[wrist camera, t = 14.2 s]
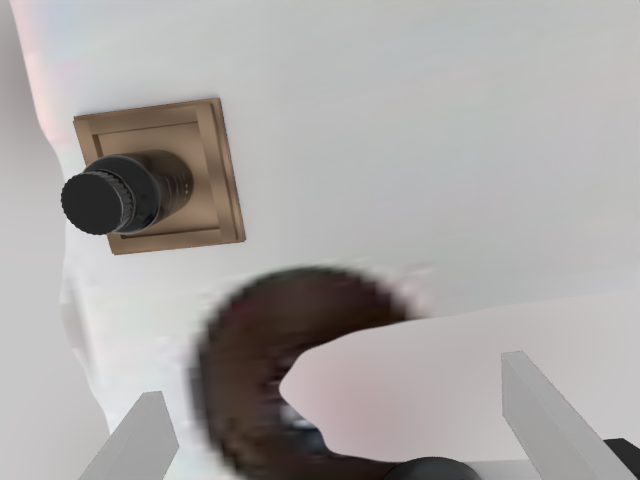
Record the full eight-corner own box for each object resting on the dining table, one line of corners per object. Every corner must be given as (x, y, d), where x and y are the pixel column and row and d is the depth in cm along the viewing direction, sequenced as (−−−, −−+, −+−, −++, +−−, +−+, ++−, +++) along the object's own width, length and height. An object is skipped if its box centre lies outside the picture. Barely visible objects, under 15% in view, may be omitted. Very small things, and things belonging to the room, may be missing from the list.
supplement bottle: (130, 206, 39) (45, 238, 27) (133, 143, 37) (42, 148, 25) (192, 219, 39) (134, 255, 28) (198, 156, 37) (138, 167, 26)
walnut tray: (245, 239, 41) (241, 244, 39) (119, 252, 42) (109, 258, 40) (219, 98, 36) (213, 97, 34) (80, 117, 37) (66, 116, 35)
